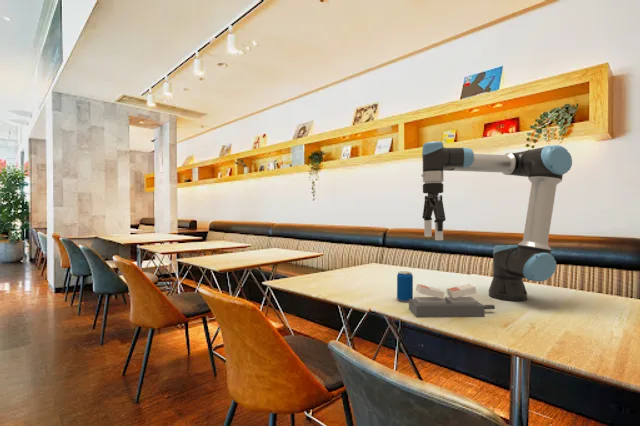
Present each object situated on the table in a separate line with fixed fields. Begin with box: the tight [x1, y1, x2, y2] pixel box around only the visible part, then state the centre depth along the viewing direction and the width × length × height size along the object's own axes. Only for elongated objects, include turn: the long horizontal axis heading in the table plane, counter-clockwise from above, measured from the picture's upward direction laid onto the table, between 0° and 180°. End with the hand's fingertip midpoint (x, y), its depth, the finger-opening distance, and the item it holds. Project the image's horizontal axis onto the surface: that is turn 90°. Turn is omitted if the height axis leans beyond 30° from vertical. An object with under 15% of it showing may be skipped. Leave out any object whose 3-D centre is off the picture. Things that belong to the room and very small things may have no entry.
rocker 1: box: [415, 283, 445, 299], centre depth 133 cm, size 9×5×2 cm, turn 91°
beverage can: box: [396, 270, 414, 303], centre depth 150 cm, size 6×6×12 cm
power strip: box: [408, 296, 496, 318], centre depth 134 cm, size 31×10×5 cm, turn 91°
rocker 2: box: [446, 283, 477, 298], centre depth 133 cm, size 9×5×2 cm, turn 91°
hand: (433, 238), depth 136 cm, fingers open, 13 cm apart
